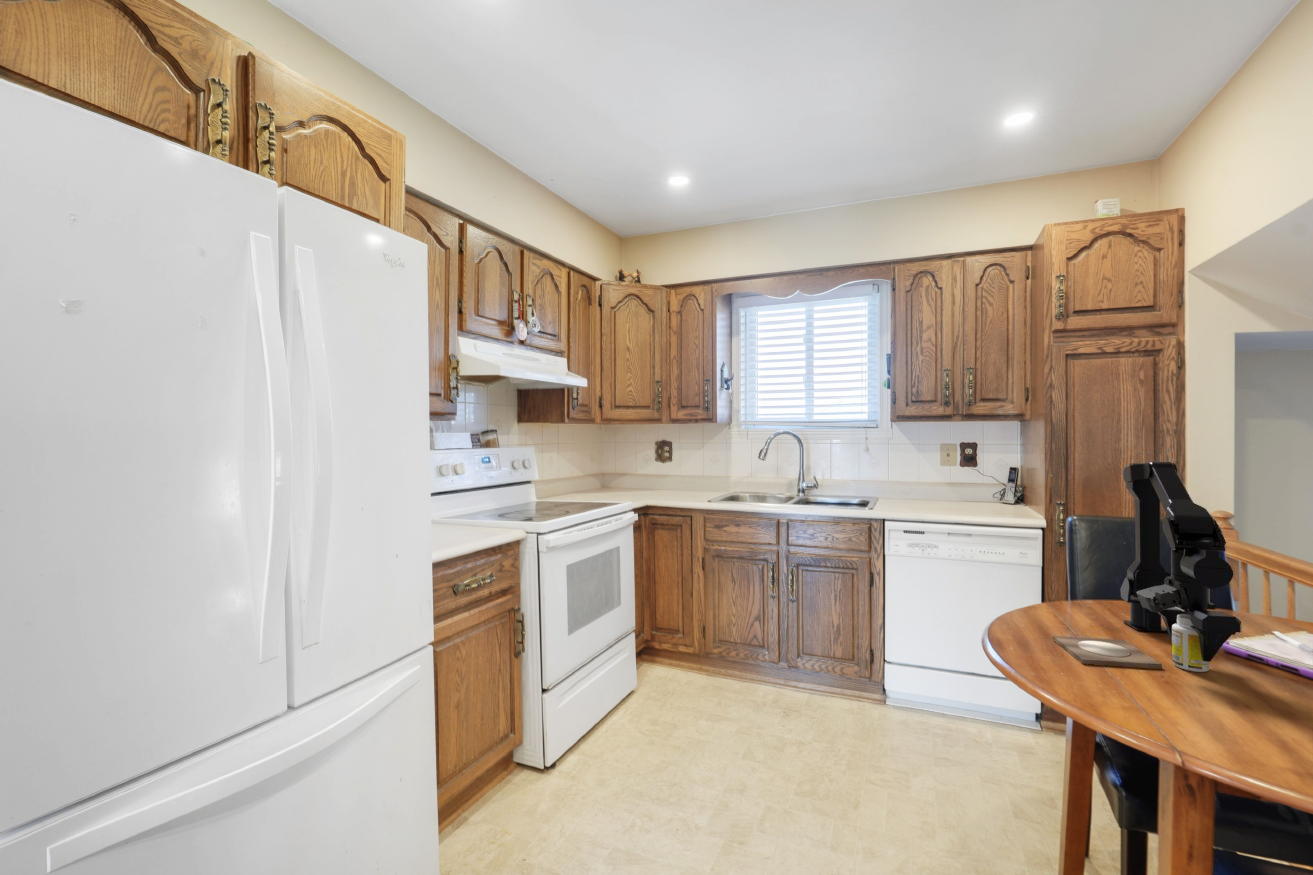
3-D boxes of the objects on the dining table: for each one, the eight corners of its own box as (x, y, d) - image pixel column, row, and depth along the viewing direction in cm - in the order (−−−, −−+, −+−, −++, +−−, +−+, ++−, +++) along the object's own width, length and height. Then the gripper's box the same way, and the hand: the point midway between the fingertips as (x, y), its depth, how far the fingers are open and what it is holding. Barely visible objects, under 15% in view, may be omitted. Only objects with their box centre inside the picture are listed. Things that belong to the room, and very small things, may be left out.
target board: (1052, 640, 134) (1052, 634, 134) (1123, 643, 131) (1123, 638, 131) (1082, 663, 120) (1082, 658, 120) (1161, 669, 117) (1161, 663, 117)
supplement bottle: (1215, 669, 116) (1214, 618, 116) (1201, 675, 114) (1201, 623, 114) (1180, 660, 121) (1179, 611, 121) (1166, 665, 119) (1166, 615, 119)
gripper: (1118, 563, 128) (1118, 634, 128) (1172, 585, 110) (1173, 667, 110) (1177, 565, 126) (1178, 637, 126) (1243, 588, 108) (1244, 672, 108)
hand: (1190, 652), depth 118 cm, fingers open, 9 cm apart
